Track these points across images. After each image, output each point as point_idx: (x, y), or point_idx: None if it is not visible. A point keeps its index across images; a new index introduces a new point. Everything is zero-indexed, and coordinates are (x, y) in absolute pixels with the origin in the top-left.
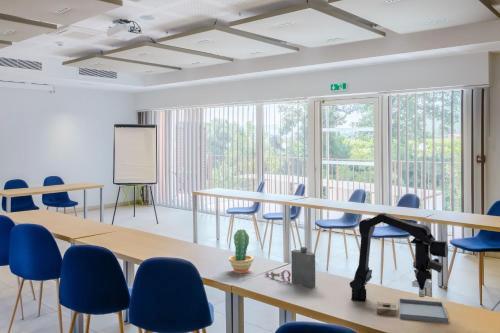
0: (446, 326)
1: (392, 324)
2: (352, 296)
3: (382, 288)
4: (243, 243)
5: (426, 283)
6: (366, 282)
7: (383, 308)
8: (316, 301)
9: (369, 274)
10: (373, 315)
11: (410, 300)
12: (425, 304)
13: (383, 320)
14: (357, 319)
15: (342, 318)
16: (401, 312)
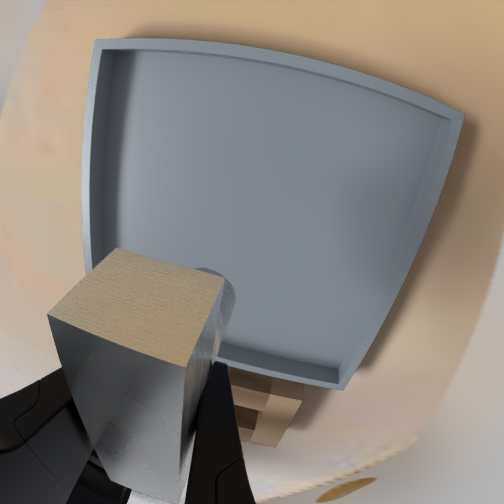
0: (493, 155)
1: (403, 404)
2: None
3: None
4: None
5: (191, 413)
6: (102, 475)
7: (277, 433)
8: (184, 488)
9: (77, 497)
10: (295, 437)
11: (94, 260)
12: (108, 161)
13: (354, 422)
14: (329, 468)
15: (315, 485)
16: (274, 352)
